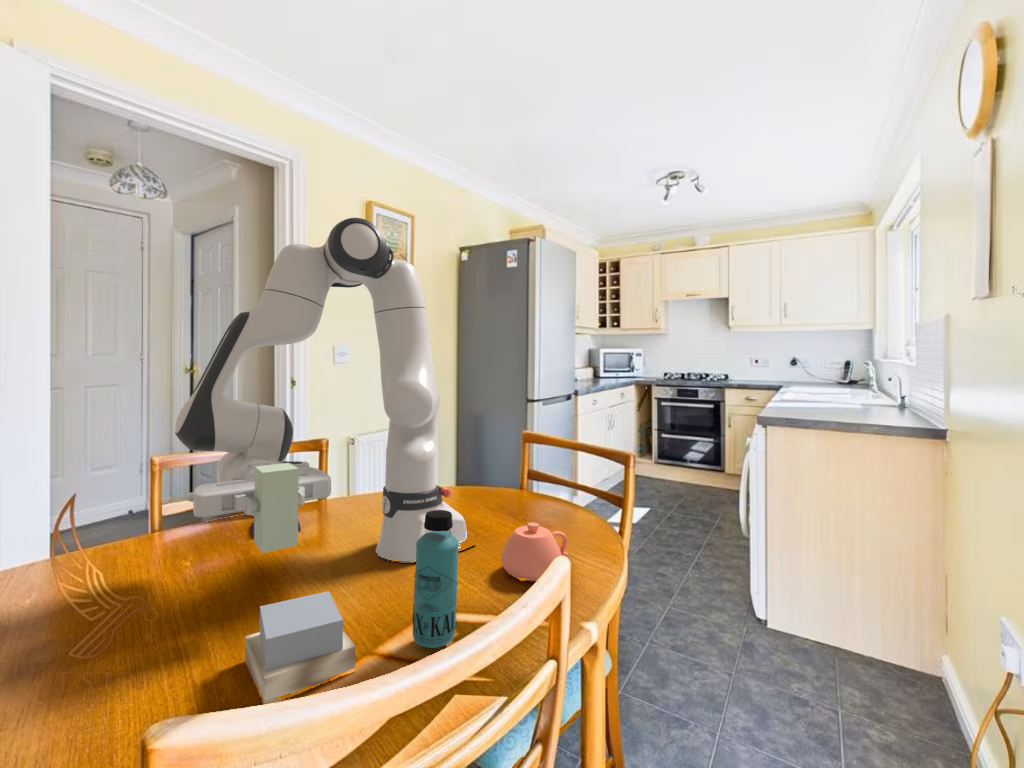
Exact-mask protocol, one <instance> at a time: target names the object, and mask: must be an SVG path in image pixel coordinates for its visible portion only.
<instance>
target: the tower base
mask: <svg viewBox="0 0 1024 768" xmlns="http://www.w3.org/2000/svg"><path fill="white" fill-rule="evenodd" d="M244 639H245V640H244V642H245V643H244V663H245V662H246V663H245V665H246V664H247V665H246V667H247V666H248V668H249V670H248V672H249V671H250V672H249V674H250V673H251V675H250V677H251V676H252V677H251V679H252V678H253V680H254V682H255V684H256V686H257V688H258V689H259V692H260V694H261V697H262V700H263V701H261V703H262V705H263V704H266V703H270V702H275V701H281V700H284V701H286V700H285V699H278V700H276V699H275V698H276V697H279V696H283V695H285V694H288V693H295V692H296V691H298V690H302V689H304V688H306V687H308V686H312V685H313V686H314V685H317V684H319V683H322V682H324V681H326V680H328V679H330V678H331V677H333V676H335V675H337V674H340V673H343V672H346V671H349V670H350V669H353V668H355V669H356V645H355V644H354V642H353V641H352V640H351V638H350V637H349V636H348V635H347V633H346V632H345V631H344V630H343V649H342V650H339V651H335V652H332V653H329V654H325V655H322V656H318V657H315V658H311V659H308V660H304V661H301V662H297V663H294V664H290V665H287V666H283V667H280V668H276V669H273V670H270V671H266V669H265V663H264V657H263V651H262V645H261V639H260V631H258V632H255V633H252V634H248V635H245V637H244ZM248 668H247V669H248ZM253 680H252V681H253ZM254 682H253V683H254ZM255 684H254V685H255ZM273 698H274V699H273ZM289 699H290V698H288V699H287V700H289ZM281 702H282V701H281Z"/></svg>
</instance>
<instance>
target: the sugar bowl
mask: <svg viewBox="0 0 1024 768" xmlns="http://www.w3.org/2000/svg"><path fill="white" fill-rule="evenodd" d="M557 536H561V545H560V546H559V544H558V542H557V540H556V538H555V537H557ZM567 542H568V539H567V535H566V534H565V533H564V532H562V531H560V530H555V531H552V532H551V531H550V529H548V528H546V527H543V526H540V524H539V522H538V523H537V522H527V524H526V525H523V526H522V525H521V526H519V527H517V528H515V529H514V531H513V532H512V533H511V534H510V536H509V538H508V539H507V541H506V542H505V545H504V546H503V550H502V554H501V560H500V561H501V565H502V567H503V568H504V570H505V571H506V572H507V574H509V575H510V574H511V575H513V576H515V577H519V578H526V579H531V580H532V581H531V582H537V581H536V580H537V579H538V578H539V577H540V575H541V574H542V573H543V572H544V571H545V569H546V568H547V567H548V566H549V565H550V563H551V562H552V561H553V559H554V558H556V557H557V556H560V555H563V556H564V557H565V556H568V557H570V556H569V554H568V552H567V551H565V550H566V548H567ZM511 575H510V576H511Z"/></svg>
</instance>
